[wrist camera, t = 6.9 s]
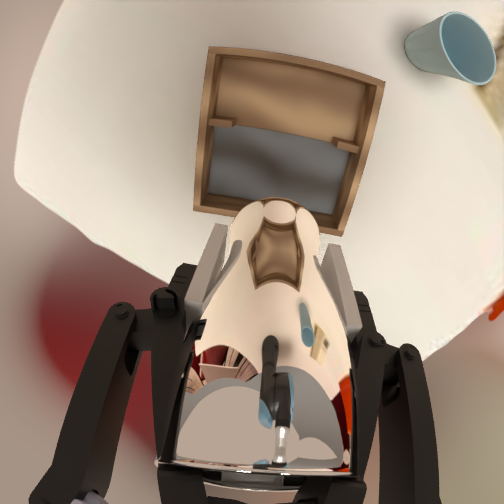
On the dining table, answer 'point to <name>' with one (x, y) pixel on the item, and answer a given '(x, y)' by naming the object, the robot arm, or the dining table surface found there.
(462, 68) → the cup
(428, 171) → the dining table surface
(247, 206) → the shiny metal cylinder
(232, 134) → the caddy
